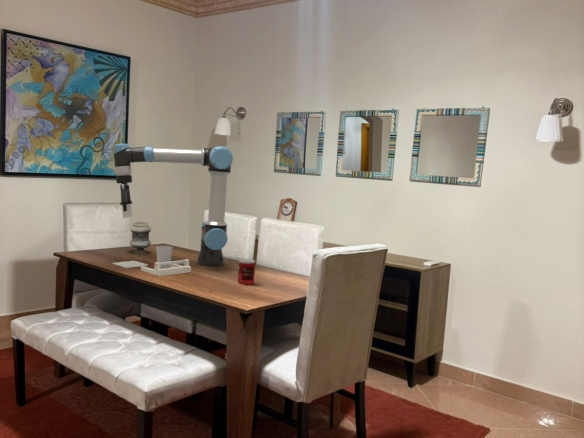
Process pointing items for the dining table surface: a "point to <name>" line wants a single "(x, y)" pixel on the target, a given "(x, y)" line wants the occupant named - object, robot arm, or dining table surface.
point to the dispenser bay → (169, 271)
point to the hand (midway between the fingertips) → (127, 217)
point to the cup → (164, 255)
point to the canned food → (246, 271)
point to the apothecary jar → (140, 237)
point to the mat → (130, 264)
